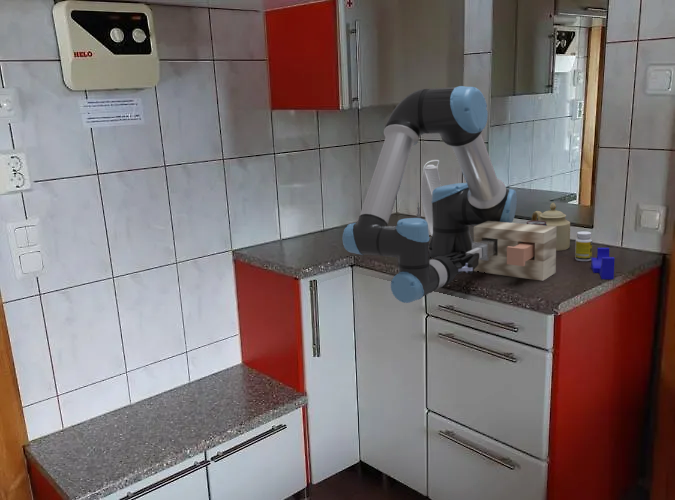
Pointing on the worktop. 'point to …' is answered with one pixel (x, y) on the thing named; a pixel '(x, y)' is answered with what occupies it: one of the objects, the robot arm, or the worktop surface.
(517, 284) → the worktop surface
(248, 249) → the worktop surface
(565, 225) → the sugar bowl
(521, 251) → the terracotta plug
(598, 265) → the blue curved cradle
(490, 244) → the grey plug
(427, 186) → the skyscraper
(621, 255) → the worktop surface
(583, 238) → the supplement bottle
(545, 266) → the housing
